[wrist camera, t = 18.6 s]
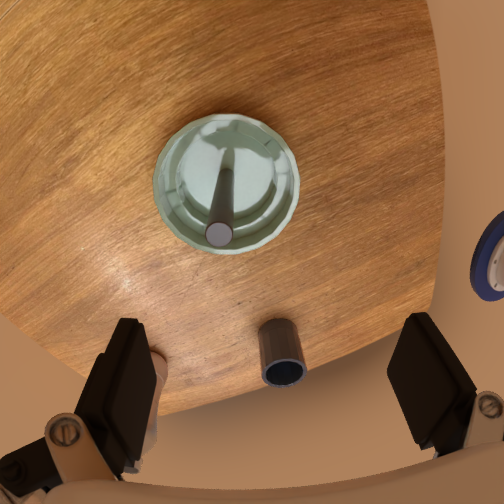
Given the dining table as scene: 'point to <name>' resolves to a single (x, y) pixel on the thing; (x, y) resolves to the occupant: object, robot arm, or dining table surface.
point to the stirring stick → (221, 211)
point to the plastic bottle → (152, 411)
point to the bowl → (245, 182)
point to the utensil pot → (281, 353)
